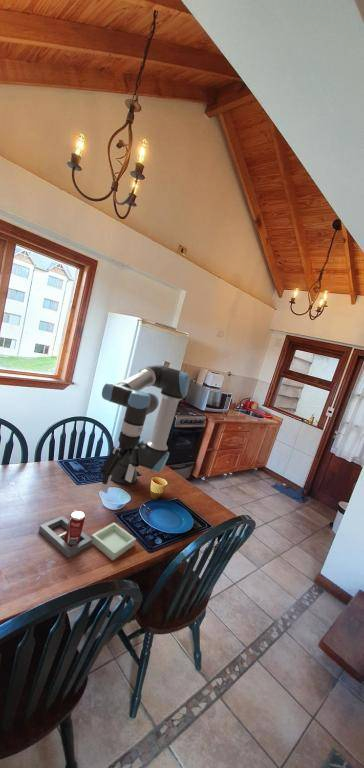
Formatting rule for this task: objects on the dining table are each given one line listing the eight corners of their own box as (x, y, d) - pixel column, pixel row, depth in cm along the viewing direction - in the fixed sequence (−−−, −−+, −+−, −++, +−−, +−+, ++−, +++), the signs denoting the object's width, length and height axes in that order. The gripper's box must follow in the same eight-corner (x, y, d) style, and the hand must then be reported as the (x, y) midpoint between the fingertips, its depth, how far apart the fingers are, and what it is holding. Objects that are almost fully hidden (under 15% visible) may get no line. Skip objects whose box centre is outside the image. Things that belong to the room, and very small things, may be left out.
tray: (89, 541, 115) (91, 534, 115) (112, 528, 126) (114, 522, 125) (112, 560, 110) (114, 553, 109) (134, 545, 120) (136, 538, 119)
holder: (38, 531, 113) (39, 525, 113) (61, 520, 122) (62, 515, 121) (68, 558, 105) (69, 552, 105) (90, 545, 114) (92, 539, 113)
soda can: (65, 537, 114) (72, 508, 112) (79, 540, 115) (87, 511, 113) (61, 547, 109) (68, 517, 107) (76, 550, 109) (83, 520, 108)
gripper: (115, 442, 99) (99, 501, 103) (157, 432, 121) (143, 481, 124) (98, 433, 103) (84, 490, 106) (143, 425, 125) (130, 472, 128)
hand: (116, 485), depth 115 cm, fingers open, 13 cm apart
